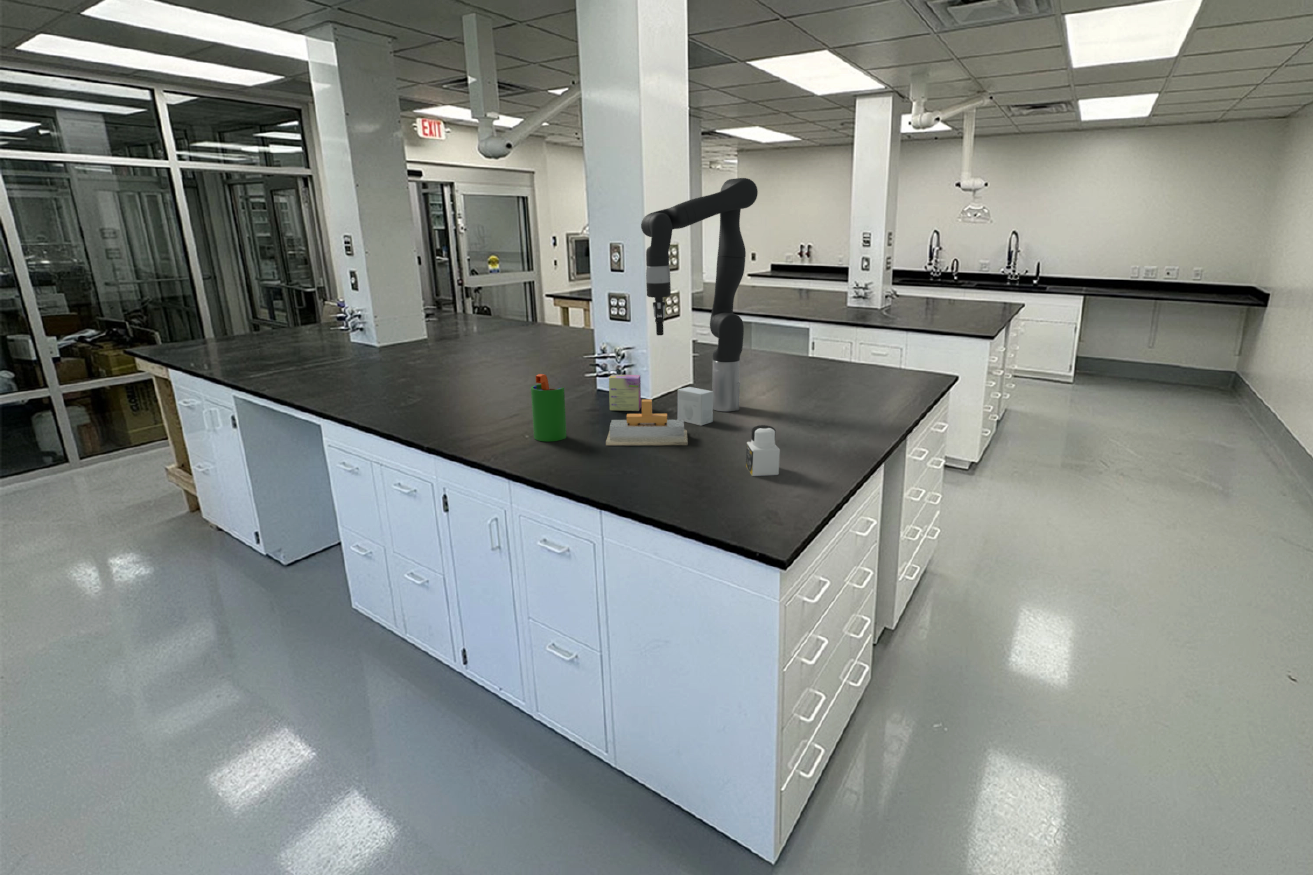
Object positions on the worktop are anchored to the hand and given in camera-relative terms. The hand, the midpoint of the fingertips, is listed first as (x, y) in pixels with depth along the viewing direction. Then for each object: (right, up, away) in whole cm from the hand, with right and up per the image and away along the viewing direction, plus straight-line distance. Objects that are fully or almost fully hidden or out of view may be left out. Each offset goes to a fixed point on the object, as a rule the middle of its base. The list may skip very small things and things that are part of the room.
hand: (660, 333), depth 208 cm
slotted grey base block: (-4, -34, -11) cm, 36 cm away
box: (-12, -24, +22) cm, 34 cm away
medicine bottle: (+26, -42, -37) cm, 62 cm away
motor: (-34, -33, -8) cm, 48 cm away
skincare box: (+12, -28, +7) cm, 31 cm away
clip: (-4, -33, -11) cm, 35 cm away
